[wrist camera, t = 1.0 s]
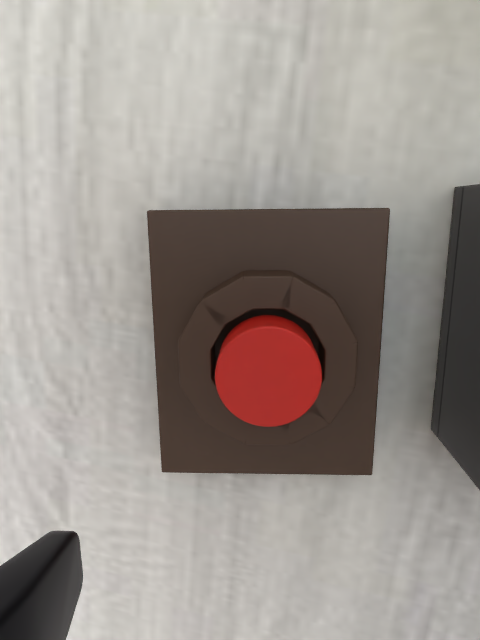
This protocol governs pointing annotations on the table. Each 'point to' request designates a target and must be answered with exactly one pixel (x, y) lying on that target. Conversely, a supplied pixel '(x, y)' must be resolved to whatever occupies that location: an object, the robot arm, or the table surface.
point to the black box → (461, 339)
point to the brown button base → (268, 299)
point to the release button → (268, 371)
